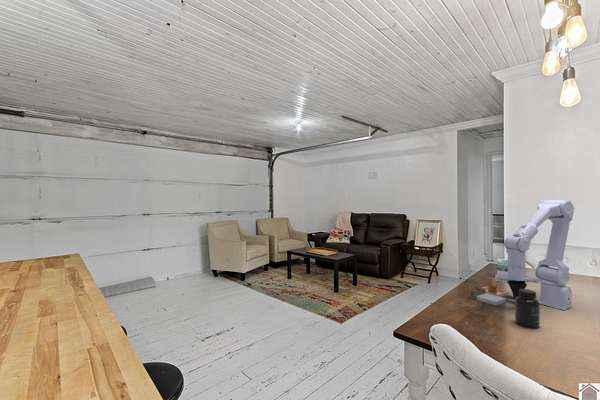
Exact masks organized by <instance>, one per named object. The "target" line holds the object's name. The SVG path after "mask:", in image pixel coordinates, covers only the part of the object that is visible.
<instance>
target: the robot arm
mask: <svg viewBox="0 0 600 400" xmlns="http://www.w3.org/2000/svg"><path fill="white" fill-rule="evenodd" d="M574 212H575V206H574V204H573V203H572V202H571V201H570V200H569V199H565V200H564V199H563V200H562V199H559V200H558V199H551V200H550V199H543V200H541V201H540V202H539V204H537V210H536V211H535V213H534V215H533V216H532V218H531V219H530V220H529V221H528V222H524V223H522V224H521V225H520V227H518V229H517V230H516V231H515V232H514V233H513V234H512V235H509V236H507V237H506V238H505V239H504V242H503V246H504V248H505V250H506V251H505V252H506V254H507V259H508V275H497V274H494V277H495V280H497V282H501V281H507V282H506V283H507V284H508V285H509V288H510V290H511V293H512V296H513V297H514V299H516V297H518V296H519V294H518V293H519V289H527V286H528V283H534V284H539V285H540V286H539V287H540V289H539V290H540V292H539V294H540V295H539V296H540V297H539V300H538V301H539V303H540V305H544V306H548V307H550V308H555V309H559V310H563V311H566V310H569V308H572V307H573V305H572V301H573V300H572V295H573V294H572V288H571V287H570V286H566V285H567V284H568V283H569V281H570V273H569V271H570V268H569V266H567V265H566V264H565V263H564V262H563V261H564V255H565V250H566V244H567V241H568V239H567V238H568V234H569V230H570V225H571V222H572V221H573V217H574ZM547 220H549V221H551V223H552V224H551V225H552V227H551V229H550V236H549V241H548V244H547V245H548V246H547V250H546V256H545V258H544V259H541V260H540V261H538V263H537V266H536V268H535V270H534V275H535V276H527V275H526V274H527V273H526V251H528V250H529V249H530V246H531V242H532V240H533V238H535V236H536V235H537V234H538V233H539V229H538V228H539V227H540V226H542V224H543V223H545V222H546V221H547Z"/></svg>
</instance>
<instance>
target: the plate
mask: <svg viewBox="0 0 600 400" xmlns="http://www.w3.org/2000/svg"><path fill="white" fill-rule="evenodd" d="M506 299H507V298H502V297H499V296H495V295H491V294H488V293H485V294H482V295H479V296H476V301H480V302H484V303H487V304H489V305H493V306H499V305H502V304H504V303H507V302H506Z"/></svg>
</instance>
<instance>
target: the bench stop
mask: <svg viewBox="0 0 600 400" xmlns="http://www.w3.org/2000/svg"><path fill="white" fill-rule="evenodd" d="M482 294H485V289H484V288H483V287H480V286H475V288H474V289H471V290H470V299H472V300H476V296H479V295H482ZM476 301H477V300H476Z"/></svg>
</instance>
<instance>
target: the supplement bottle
mask: <svg viewBox="0 0 600 400" xmlns="http://www.w3.org/2000/svg"><path fill="white" fill-rule="evenodd" d="M518 294H519V296H518V297H516V299H515V304H514V321H515V323H516V324H517V325H519V326H521V327H523V328H528V329H538V328H540V325H541V324H540V322H541V319H540V317H541V313H540V312H541V308H540V306H541V304H540V303H539V300H538V299H536V298H537V292H536V291H534V290H532V289H528V288H525V289H519V293H518Z"/></svg>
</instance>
